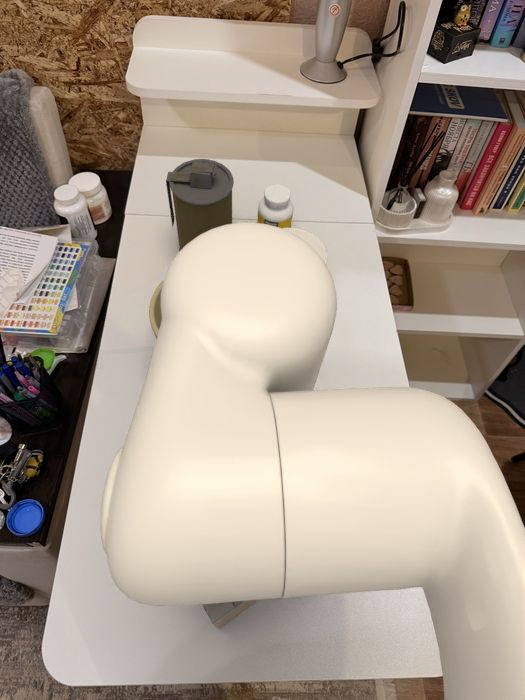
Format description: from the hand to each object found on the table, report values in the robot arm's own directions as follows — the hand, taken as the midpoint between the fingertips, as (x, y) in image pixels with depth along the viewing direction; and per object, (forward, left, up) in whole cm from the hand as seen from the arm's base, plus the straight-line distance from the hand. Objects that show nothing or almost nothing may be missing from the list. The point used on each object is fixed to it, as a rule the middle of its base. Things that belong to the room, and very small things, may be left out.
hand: (240, 477), depth 46 cm
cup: (+31, -30, -31) cm, 53 cm away
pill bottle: (+44, -36, -31) cm, 64 cm away
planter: (+27, -12, -31) cm, 43 cm away
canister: (+48, -23, -31) cm, 61 cm away
